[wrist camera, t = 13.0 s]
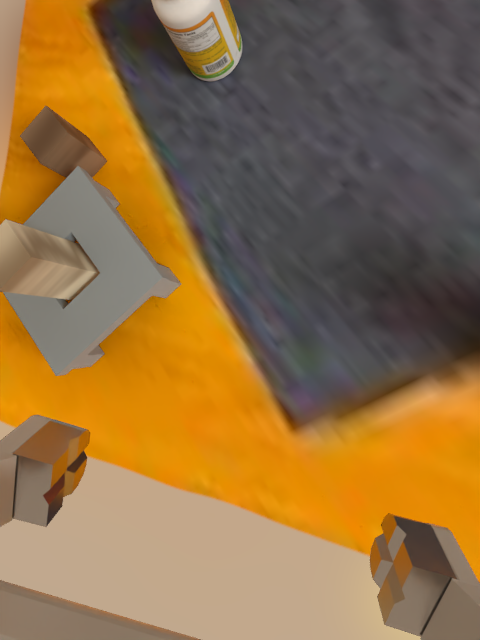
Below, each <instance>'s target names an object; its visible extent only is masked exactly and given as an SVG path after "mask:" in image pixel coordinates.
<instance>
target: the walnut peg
mask: <svg viewBox="0 0 480 640" xmlns="http://www.w3.org/2000/svg"><path fill="white" fill-rule="evenodd" d="M20 137H21V138H22V139H23V141H24V142H25V143H26V145H27V146H28V147H29V149H30V150H31V151H32V153H33V154H34V155H35V157H36V158H37V159H38V161H39V162H40V163H41V164H42V165H44V166H46V167H48V168H50V169H51V170H53V171H55V172H57V173H59V174H61V175H62V176H64V177H66V178H67V177H68V176H69V175H70V174H71V173H72V172H73V170H74V169H75V168H76V167H77V166H79V167H81V168H82V169H84V170H86V171H87V172H88V173H89V175H90V176H91V177H93V176H94V175H95V174H96V173H97V172H98V171H99V170H100V169H101V167H102V166H103V165H104V164H105V163H106V162H107V160H106V159H105V158H104V157H103V155H102V154H101V153H100V152H99V150H98V149H97V148H96V147H95V145H94V144H93V143H92V142H91V140H90V139H89V138H88V137H87V136H86V135H84V134H83V133H82V132H80V131H79V130H78V129H77V128H75V127H74V126H73V125H71V124H70V123H69V122H67V121H66V120H65V119H63V118H62V117H61V116H59V115H58V114H57V113H55V112H54V111H53V110H51V109H50V108H49V107H47V106H45V107H44V108H43V110H42V111H41V112H40V113H39V114H38V115H37V117H36V118H35V119H34V120H33V121H32V122H31V124H30V125H29V126H28V127H27V128H26V130H25V131H24V132H23V133H22V134H21V135H20Z"/></svg>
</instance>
